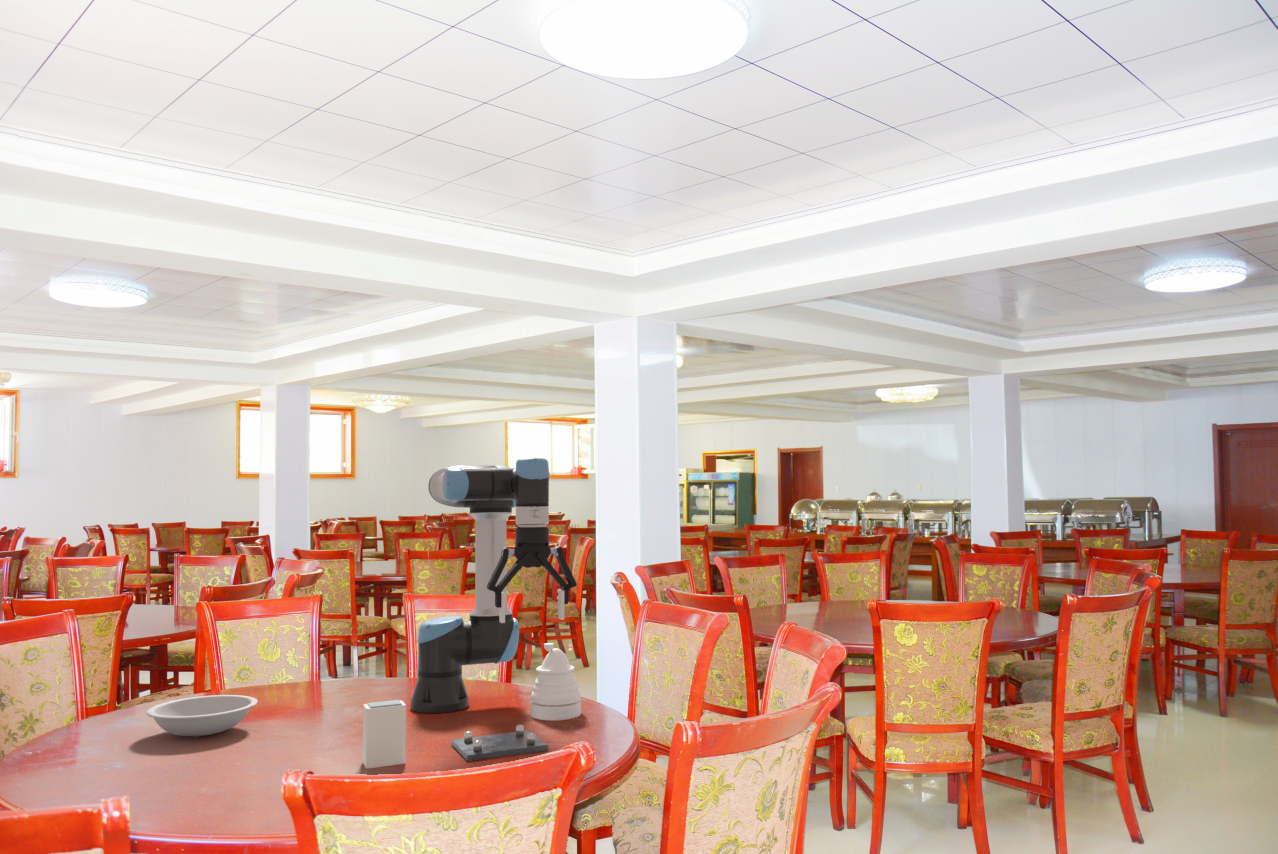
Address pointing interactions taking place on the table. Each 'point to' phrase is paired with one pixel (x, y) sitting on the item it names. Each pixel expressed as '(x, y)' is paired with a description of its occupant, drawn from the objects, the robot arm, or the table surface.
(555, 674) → the honey pot
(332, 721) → the table surface
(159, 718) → the soup bowl
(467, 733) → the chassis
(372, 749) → the block
